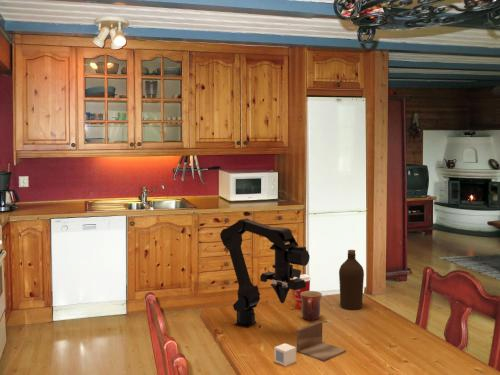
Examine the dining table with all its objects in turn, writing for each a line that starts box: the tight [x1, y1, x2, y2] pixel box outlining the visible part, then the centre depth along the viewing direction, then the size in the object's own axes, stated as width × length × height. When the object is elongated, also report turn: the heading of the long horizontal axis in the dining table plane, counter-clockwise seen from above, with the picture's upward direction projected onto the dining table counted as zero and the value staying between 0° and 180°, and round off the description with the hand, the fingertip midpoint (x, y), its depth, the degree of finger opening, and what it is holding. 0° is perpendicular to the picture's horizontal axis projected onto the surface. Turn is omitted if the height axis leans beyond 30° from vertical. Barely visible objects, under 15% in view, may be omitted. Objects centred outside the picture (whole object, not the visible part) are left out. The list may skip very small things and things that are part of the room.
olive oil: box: [338, 249, 365, 311], centre depth 235 cm, size 11×11×25 cm
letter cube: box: [273, 342, 297, 367], centre depth 179 cm, size 5×5×5 cm
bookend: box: [296, 320, 347, 363], centre depth 187 cm, size 12×12×8 cm
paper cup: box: [292, 273, 312, 311], centre depth 235 cm, size 8×8×14 cm
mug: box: [300, 290, 323, 321], centre depth 220 cm, size 12×9×10 cm
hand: (282, 302), depth 204 cm, fingers closed
